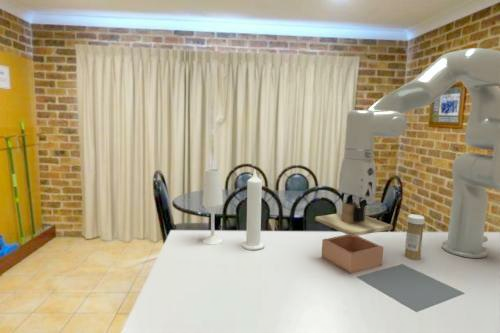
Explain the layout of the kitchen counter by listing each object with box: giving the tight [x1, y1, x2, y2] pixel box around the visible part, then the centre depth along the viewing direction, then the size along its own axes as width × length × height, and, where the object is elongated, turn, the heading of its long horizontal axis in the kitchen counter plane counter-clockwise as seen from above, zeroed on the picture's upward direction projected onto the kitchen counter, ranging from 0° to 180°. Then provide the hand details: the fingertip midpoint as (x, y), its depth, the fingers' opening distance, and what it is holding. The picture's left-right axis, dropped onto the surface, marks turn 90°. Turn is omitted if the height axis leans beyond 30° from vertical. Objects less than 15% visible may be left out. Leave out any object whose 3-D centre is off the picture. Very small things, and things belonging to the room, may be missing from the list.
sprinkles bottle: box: [403, 213, 426, 261], centre depth 104 cm, size 5×5×13 cm
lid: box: [314, 201, 393, 237], centre depth 99 cm, size 15×15×6 cm
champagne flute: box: [202, 168, 224, 246], centre depth 114 cm, size 7×7×24 cm
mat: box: [356, 263, 466, 313], centre depth 88 cm, size 18×18×1 cm
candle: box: [241, 169, 265, 252], centre depth 110 cm, size 7×7×25 cm
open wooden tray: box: [320, 234, 384, 274], centre depth 101 cm, size 12×12×6 cm
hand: (353, 218), depth 99 cm, fingers closed on lid, 3 cm apart
